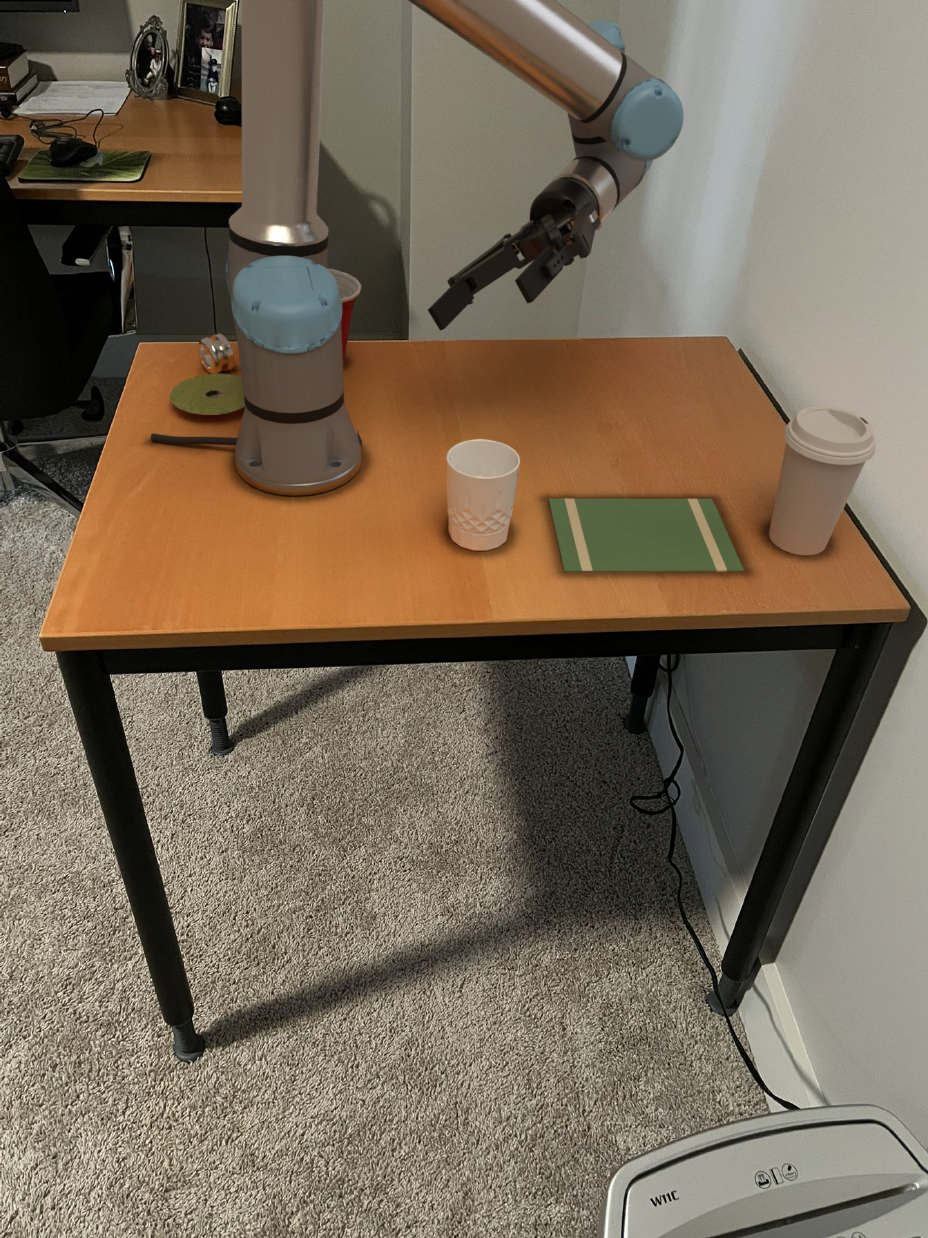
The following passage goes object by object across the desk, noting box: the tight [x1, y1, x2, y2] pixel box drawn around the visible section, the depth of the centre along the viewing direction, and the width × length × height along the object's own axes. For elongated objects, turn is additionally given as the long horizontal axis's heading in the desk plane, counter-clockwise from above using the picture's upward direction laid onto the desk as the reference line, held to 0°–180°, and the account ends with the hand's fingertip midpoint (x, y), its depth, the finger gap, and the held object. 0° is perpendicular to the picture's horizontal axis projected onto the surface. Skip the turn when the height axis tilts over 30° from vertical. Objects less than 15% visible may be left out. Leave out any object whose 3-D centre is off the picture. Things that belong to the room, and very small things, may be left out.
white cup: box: [446, 438, 521, 552], centre depth 109 cm, size 8×8×10 cm
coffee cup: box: [768, 405, 876, 556], centre depth 109 cm, size 10×10×15 cm
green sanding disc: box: [169, 372, 245, 416], centre depth 131 cm, size 11×11×2 cm
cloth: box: [548, 498, 745, 573], centre depth 114 cm, size 20×14×1 cm
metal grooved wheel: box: [197, 333, 235, 374], centre depth 138 cm, size 5×3×5 cm, turn 41°
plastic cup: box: [327, 268, 362, 364], centre depth 139 cm, size 11×11×12 cm
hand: (477, 306), depth 106 cm, fingers open, 13 cm apart
